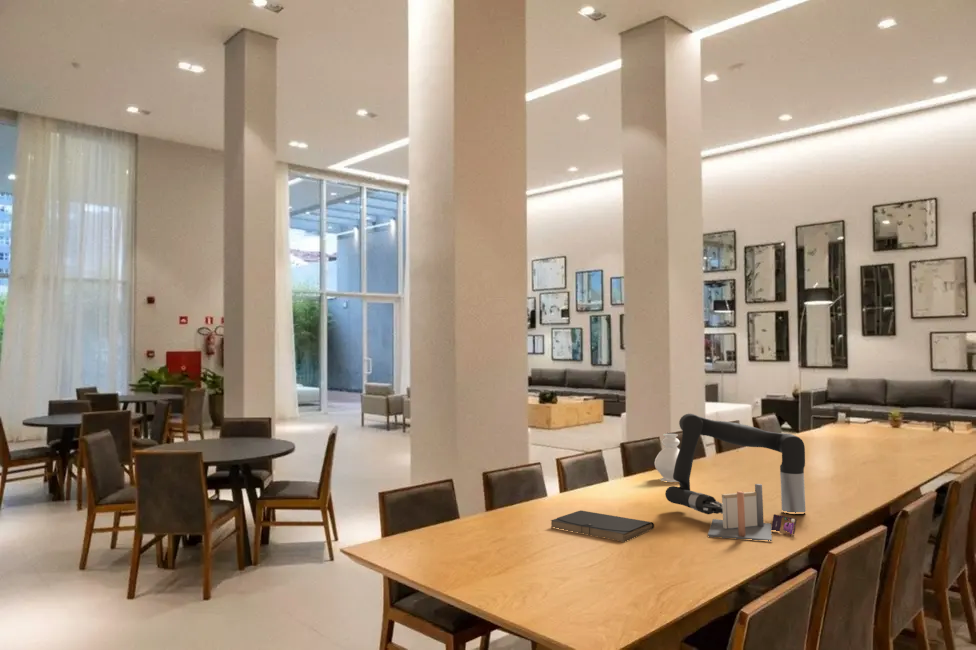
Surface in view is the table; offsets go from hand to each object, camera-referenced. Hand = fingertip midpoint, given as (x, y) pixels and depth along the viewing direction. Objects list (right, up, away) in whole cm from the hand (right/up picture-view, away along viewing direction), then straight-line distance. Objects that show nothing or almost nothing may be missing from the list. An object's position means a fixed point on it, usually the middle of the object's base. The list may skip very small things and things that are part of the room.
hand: (731, 512), depth 251 cm
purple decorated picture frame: (+19, -7, -5) cm, 21 cm away
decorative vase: (+5, -12, +100) cm, 101 cm away
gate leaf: (+3, -5, 0) cm, 6 cm away
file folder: (-49, -9, +6) cm, 50 cm away
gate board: (+3, -7, -2) cm, 8 cm away
